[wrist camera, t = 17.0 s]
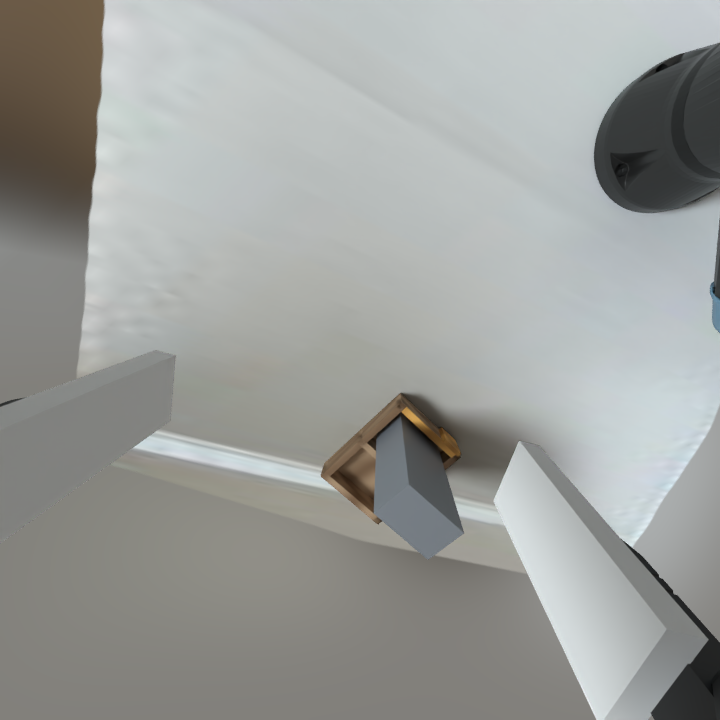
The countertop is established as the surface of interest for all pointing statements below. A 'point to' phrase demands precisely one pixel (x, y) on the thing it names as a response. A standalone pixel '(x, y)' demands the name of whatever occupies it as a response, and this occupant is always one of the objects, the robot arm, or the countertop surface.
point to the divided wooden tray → (358, 456)
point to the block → (414, 488)
